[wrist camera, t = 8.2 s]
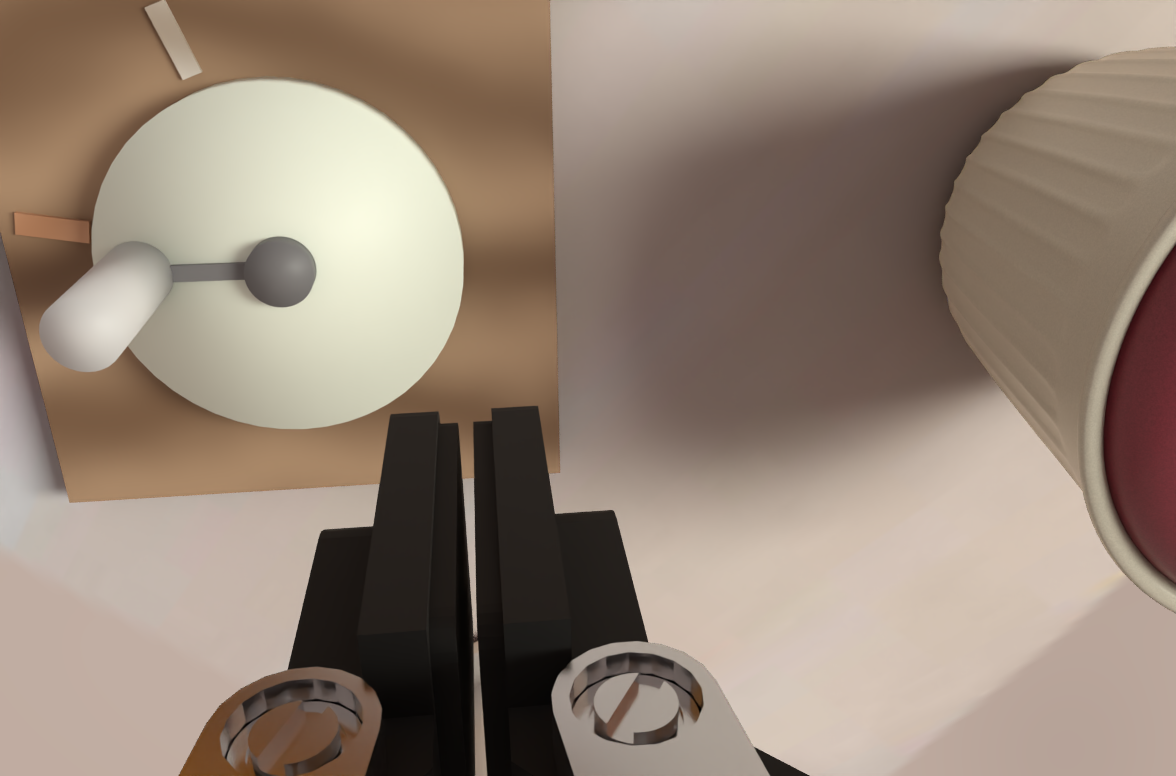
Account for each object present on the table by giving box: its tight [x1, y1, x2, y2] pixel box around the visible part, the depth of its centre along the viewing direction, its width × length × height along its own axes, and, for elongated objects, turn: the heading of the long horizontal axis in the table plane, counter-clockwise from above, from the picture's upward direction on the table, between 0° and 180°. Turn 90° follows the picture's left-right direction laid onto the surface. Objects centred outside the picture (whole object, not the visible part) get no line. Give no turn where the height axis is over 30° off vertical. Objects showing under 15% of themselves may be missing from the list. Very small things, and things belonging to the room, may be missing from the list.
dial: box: [39, 76, 464, 429], centre depth 35 cm, size 13×13×8 cm
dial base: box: [0, 0, 560, 503], centre depth 39 cm, size 20×20×2 cm
